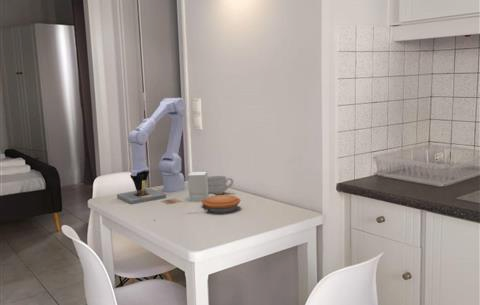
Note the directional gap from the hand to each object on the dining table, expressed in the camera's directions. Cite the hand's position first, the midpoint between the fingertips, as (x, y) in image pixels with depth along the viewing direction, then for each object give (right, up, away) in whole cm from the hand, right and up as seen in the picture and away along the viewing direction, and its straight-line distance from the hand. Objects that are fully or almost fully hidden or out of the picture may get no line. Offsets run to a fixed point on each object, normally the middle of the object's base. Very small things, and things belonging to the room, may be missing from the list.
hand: (140, 189), depth 211 cm
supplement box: (+26, -6, -5) cm, 27 cm away
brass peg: (0, -2, 0) cm, 2 cm away
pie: (+36, -7, -17) cm, 40 cm away
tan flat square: (+14, -6, -8) cm, 17 cm away
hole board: (0, -5, +1) cm, 5 cm away
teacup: (+33, -3, +9) cm, 35 cm away
